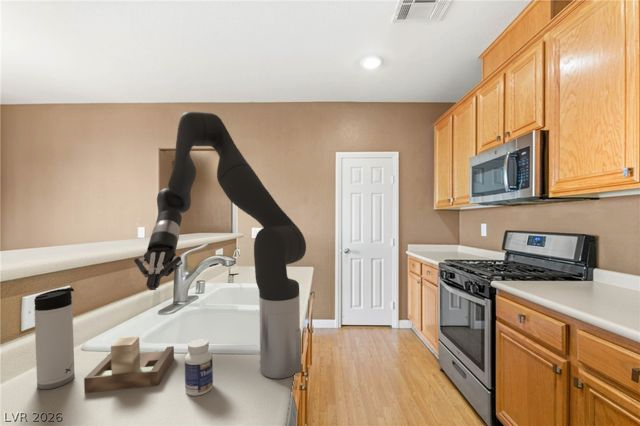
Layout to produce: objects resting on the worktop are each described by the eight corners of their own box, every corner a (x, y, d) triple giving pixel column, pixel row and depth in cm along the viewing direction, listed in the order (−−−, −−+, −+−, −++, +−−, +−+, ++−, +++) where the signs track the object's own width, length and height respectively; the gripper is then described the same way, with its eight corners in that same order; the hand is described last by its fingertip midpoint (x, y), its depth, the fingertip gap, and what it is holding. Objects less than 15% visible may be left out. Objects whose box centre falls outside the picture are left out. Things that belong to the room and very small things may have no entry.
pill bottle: (203, 398, 62) (202, 349, 62) (179, 395, 63) (178, 347, 63) (217, 383, 67) (217, 338, 67) (195, 380, 69) (194, 336, 68)
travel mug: (79, 380, 69) (76, 290, 68) (39, 393, 64) (35, 296, 64) (73, 370, 73) (70, 285, 73) (35, 382, 68) (32, 291, 68)
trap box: (174, 358, 79) (173, 346, 78) (157, 385, 67) (157, 371, 67) (112, 363, 76) (112, 351, 76) (84, 392, 64) (84, 378, 64)
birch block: (140, 367, 70) (139, 336, 70) (132, 377, 66) (131, 344, 66) (120, 369, 70) (119, 338, 69) (111, 379, 66) (110, 346, 65)
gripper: (137, 231, 92) (119, 282, 80) (185, 229, 94) (175, 279, 82) (144, 246, 97) (129, 297, 85) (189, 245, 99) (181, 294, 88)
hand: (151, 288), depth 84 cm, fingers closed
